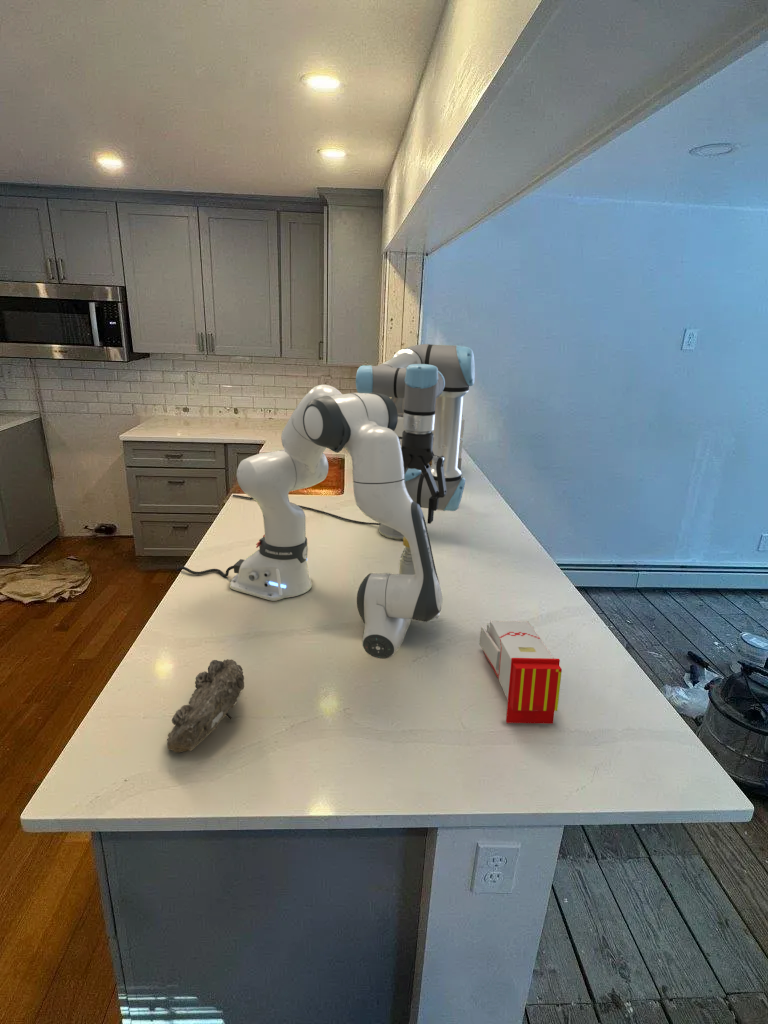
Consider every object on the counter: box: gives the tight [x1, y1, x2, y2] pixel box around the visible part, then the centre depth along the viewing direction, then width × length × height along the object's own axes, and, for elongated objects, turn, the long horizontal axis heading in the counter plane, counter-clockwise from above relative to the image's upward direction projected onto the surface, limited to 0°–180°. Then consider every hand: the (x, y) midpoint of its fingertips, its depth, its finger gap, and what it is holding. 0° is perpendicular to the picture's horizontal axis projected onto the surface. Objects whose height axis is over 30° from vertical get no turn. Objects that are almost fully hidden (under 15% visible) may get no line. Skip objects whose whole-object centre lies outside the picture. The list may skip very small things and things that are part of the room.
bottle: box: [398, 546, 415, 575], centre depth 149 cm, size 5×5×19 cm
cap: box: [402, 536, 410, 548], centre depth 146 cm, size 4×4×2 cm
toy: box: [478, 620, 563, 725], centre depth 121 cm, size 12×13×30 cm
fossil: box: [166, 658, 245, 754], centre depth 106 cm, size 22×10×15 cm
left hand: (406, 586), depth 149 cm, fingers open, 8 cm apart
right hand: (412, 518), depth 144 cm, fingers open, 9 cm apart
